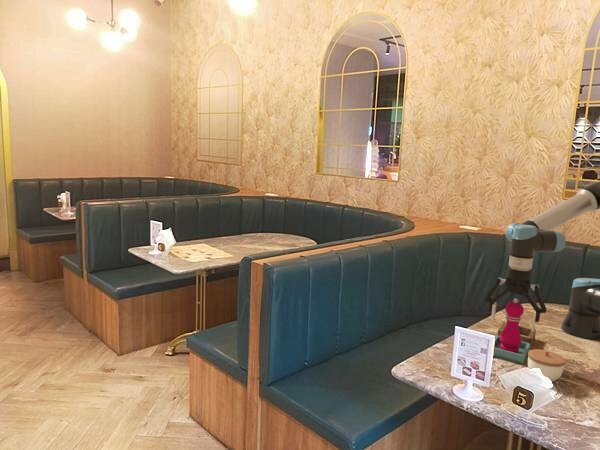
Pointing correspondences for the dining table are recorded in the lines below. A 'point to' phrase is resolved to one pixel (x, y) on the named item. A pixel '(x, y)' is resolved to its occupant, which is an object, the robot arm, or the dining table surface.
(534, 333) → the walnut holder
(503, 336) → the pepper mill
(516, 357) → the teal tray
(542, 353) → the lidded jar
